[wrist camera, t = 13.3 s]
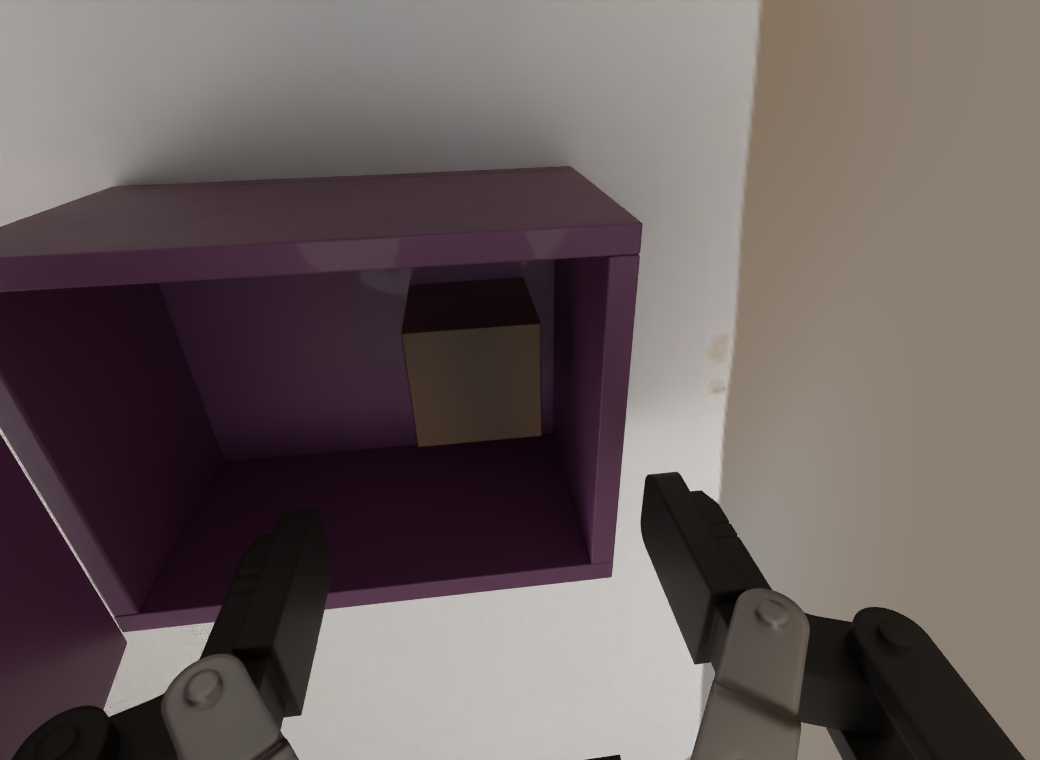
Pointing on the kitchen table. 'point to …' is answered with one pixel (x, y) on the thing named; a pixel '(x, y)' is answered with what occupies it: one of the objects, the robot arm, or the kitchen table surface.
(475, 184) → the box
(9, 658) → the file lid
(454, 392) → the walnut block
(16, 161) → the kitchen table surface
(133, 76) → the kitchen table surface
